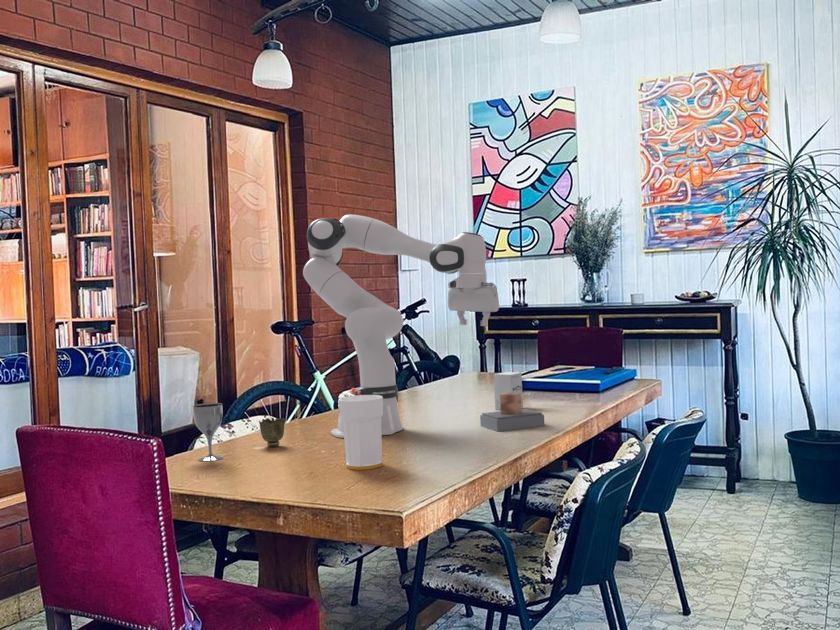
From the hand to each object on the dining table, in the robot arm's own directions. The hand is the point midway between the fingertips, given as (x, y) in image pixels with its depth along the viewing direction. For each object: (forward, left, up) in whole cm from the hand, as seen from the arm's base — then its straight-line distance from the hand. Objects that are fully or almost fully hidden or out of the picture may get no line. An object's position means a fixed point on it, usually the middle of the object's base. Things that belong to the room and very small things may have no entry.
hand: (473, 325), depth 278 cm
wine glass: (-87, -12, -31) cm, 93 cm away
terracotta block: (+4, -16, -27) cm, 31 cm away
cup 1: (-68, -4, -31) cm, 75 cm away
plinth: (+4, -16, -31) cm, 35 cm away
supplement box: (+19, +16, -31) cm, 40 cm away
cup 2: (-53, -46, -31) cm, 76 cm away
